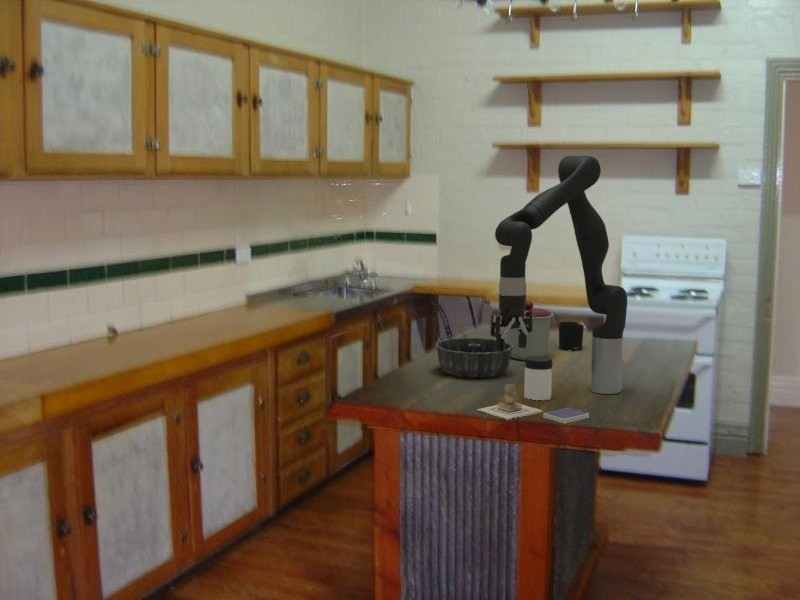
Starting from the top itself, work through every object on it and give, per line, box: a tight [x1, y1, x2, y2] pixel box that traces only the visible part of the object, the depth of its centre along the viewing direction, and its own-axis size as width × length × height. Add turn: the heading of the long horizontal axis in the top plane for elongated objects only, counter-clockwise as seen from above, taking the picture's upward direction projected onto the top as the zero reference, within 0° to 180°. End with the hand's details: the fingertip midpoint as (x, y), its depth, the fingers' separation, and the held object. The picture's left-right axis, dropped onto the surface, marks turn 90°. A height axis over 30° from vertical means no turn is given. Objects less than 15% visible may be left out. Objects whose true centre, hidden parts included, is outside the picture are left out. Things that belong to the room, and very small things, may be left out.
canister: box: [505, 300, 554, 361], centre depth 339 cm, size 18×18×21 cm
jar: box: [523, 356, 554, 402], centre depth 281 cm, size 9×8×12 cm
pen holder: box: [558, 321, 585, 352], centre depth 358 cm, size 9×9×10 cm
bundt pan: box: [435, 336, 514, 379], centre depth 314 cm, size 26×26×10 cm
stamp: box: [497, 383, 523, 413], centre depth 264 cm, size 5×5×7 cm
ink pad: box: [542, 407, 590, 424], centre depth 258 cm, size 10×8×1 cm
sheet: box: [476, 404, 543, 421], centre depth 264 cm, size 14×12×1 cm
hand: (511, 349), depth 262 cm, fingers open, 8 cm apart
